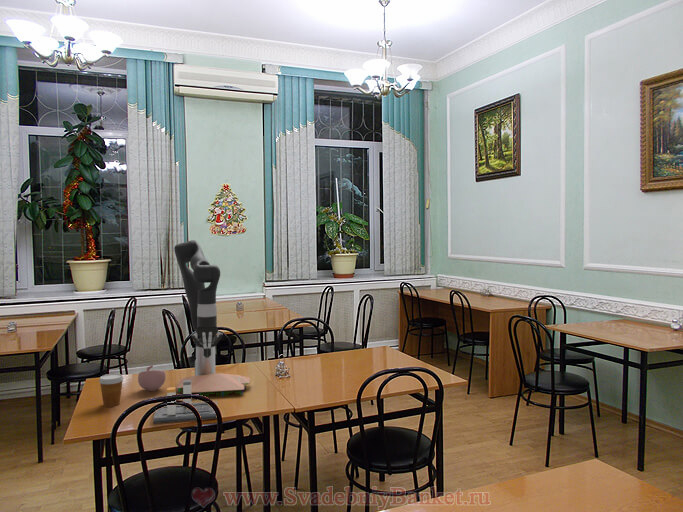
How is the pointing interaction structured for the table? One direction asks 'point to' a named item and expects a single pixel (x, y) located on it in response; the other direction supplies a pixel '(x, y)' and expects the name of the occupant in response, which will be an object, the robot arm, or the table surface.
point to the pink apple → (151, 379)
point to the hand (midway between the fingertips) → (207, 357)
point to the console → (184, 413)
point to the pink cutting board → (215, 383)
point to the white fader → (187, 390)
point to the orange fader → (171, 408)
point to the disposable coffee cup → (111, 389)
